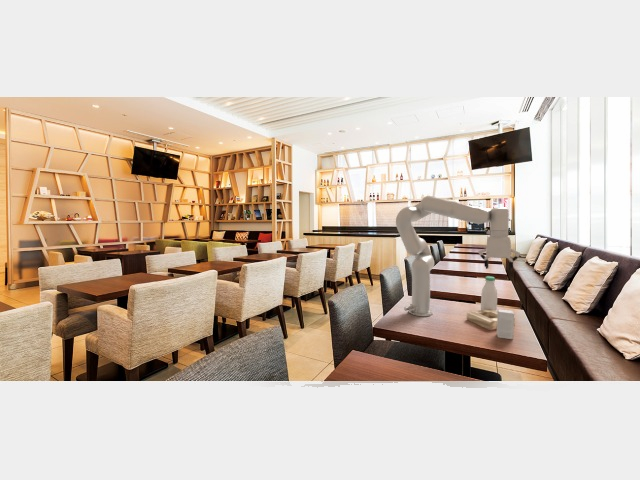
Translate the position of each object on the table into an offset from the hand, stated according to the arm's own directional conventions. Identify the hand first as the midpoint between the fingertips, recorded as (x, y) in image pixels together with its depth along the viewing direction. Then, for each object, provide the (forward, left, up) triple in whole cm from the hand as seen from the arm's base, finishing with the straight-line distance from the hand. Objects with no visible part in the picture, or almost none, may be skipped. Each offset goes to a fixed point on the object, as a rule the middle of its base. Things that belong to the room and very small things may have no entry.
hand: (498, 269), depth 144 cm
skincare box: (-6, -10, -29) cm, 31 cm away
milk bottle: (+14, +17, -29) cm, 36 cm away
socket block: (+2, +5, -29) cm, 29 cm away
